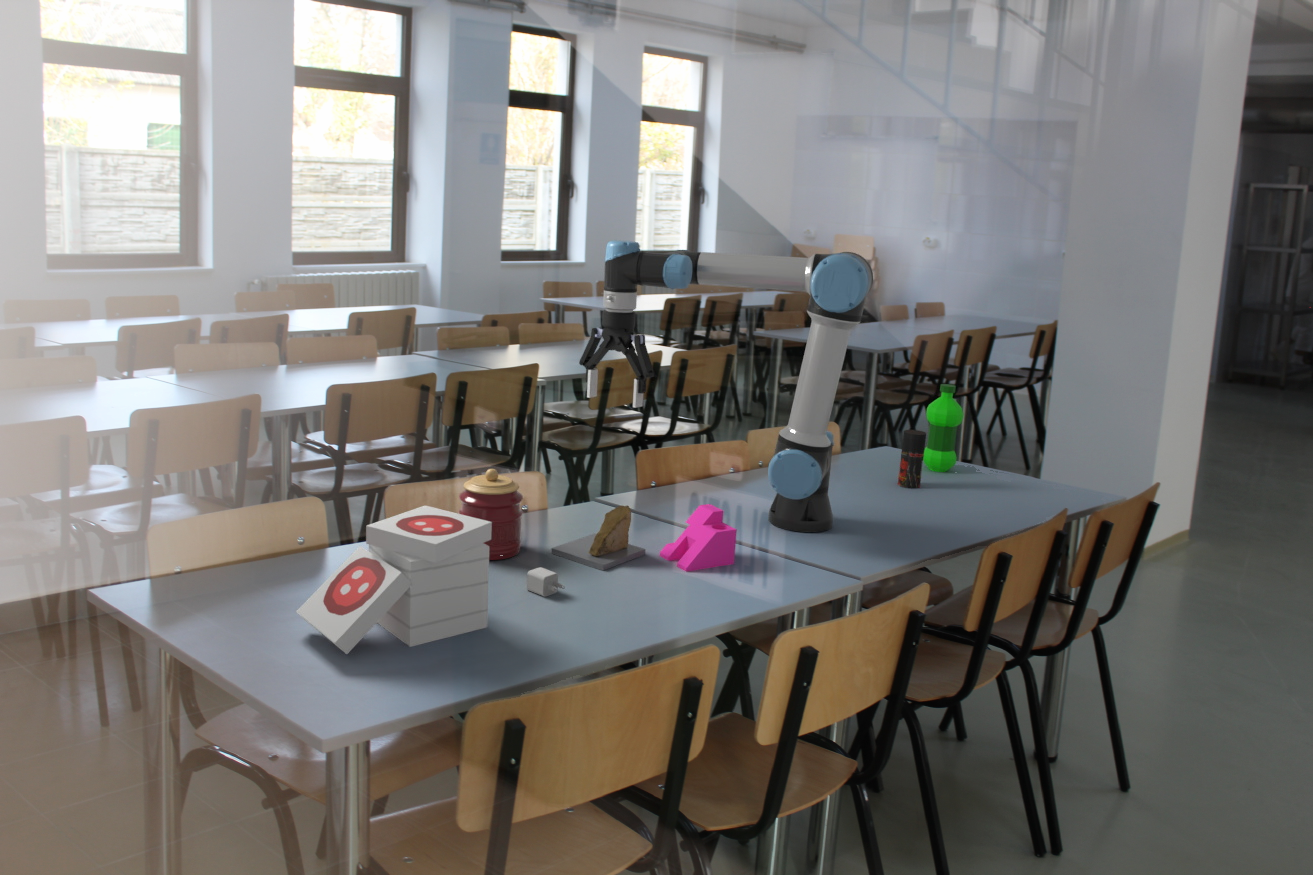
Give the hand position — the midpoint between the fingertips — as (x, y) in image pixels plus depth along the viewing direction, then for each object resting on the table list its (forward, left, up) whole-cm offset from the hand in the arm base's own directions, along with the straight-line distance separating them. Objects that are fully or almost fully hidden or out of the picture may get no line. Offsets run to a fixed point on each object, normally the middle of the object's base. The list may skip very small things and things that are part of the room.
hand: (614, 402), depth 251 cm
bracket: (-34, +12, -27) cm, 45 cm away
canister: (0, +39, -27) cm, 47 cm away
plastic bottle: (-39, -104, -27) cm, 115 cm away
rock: (-19, +23, -26) cm, 40 cm away
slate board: (-17, +24, -27) cm, 40 cm away
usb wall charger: (-24, +48, -27) cm, 60 cm away
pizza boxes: (-18, +78, -27) cm, 84 cm away
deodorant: (-40, -81, -27) cm, 94 cm away
